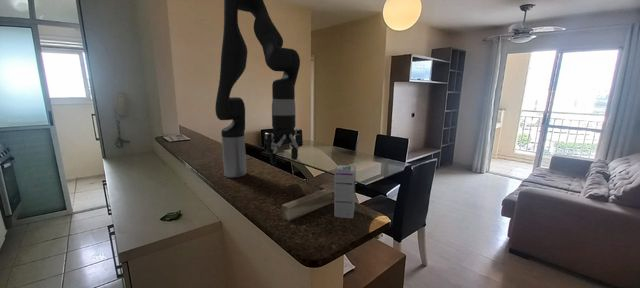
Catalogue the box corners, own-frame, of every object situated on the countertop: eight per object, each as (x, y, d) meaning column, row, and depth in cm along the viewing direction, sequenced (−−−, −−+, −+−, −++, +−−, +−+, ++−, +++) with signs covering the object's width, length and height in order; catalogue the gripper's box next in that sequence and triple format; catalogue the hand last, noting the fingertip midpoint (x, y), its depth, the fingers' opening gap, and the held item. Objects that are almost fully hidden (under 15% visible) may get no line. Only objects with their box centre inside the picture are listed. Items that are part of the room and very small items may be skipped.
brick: (287, 197, 92) (287, 184, 92) (299, 195, 94) (298, 183, 93) (293, 210, 83) (293, 196, 82) (306, 208, 84) (306, 194, 83)
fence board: (282, 217, 77) (282, 204, 77) (325, 200, 90) (325, 188, 89) (289, 221, 75) (288, 208, 74) (331, 202, 88) (331, 191, 87)
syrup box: (353, 219, 77) (355, 171, 74) (333, 217, 78) (334, 170, 75) (354, 210, 82) (356, 165, 79) (336, 208, 83) (337, 164, 80)
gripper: (293, 111, 92) (293, 155, 96) (258, 113, 83) (259, 163, 86) (308, 112, 87) (307, 160, 91) (272, 115, 77) (273, 168, 81)
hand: (284, 161), depth 88 cm, fingers open, 8 cm apart
